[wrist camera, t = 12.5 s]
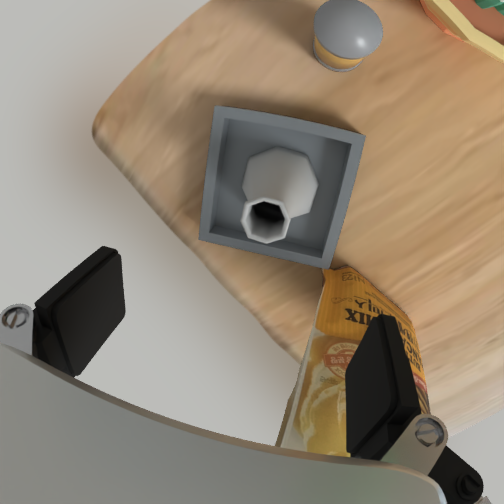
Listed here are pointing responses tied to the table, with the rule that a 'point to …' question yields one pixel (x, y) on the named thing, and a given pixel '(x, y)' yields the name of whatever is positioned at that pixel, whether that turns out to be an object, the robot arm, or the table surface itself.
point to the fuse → (345, 34)
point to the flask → (276, 192)
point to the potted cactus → (471, 22)
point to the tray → (261, 139)
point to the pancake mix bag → (339, 362)
